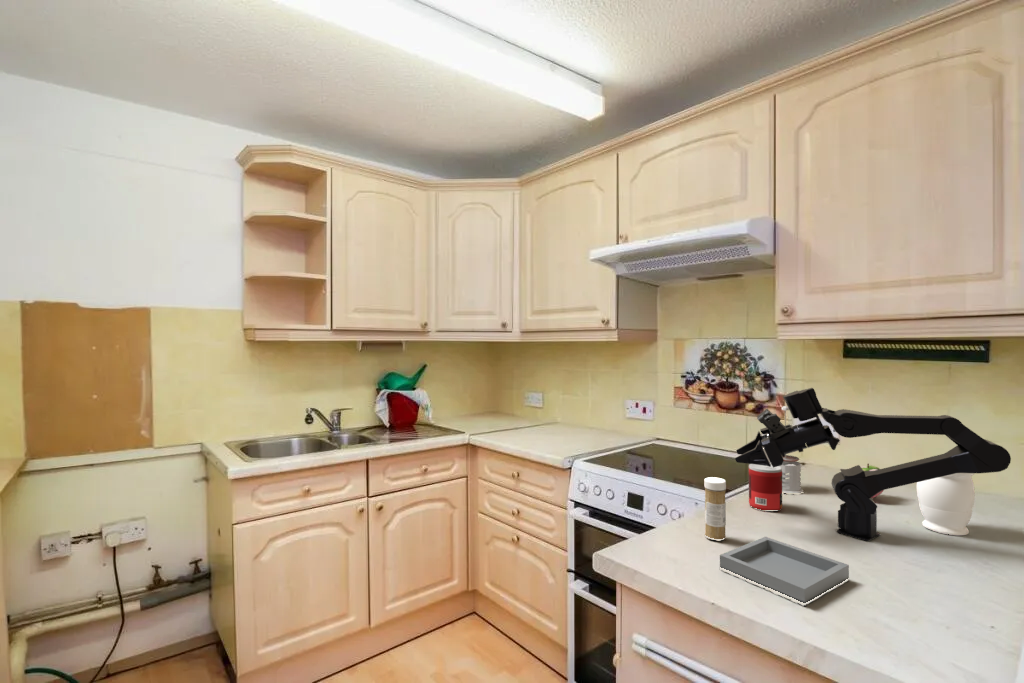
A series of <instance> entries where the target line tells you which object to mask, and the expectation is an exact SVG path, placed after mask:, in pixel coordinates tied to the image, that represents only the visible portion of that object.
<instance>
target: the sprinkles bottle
mask: <svg viewBox="0 0 1024 683" xmlns="http://www.w3.org/2000/svg"><path fill="white" fill-rule="evenodd" d="M703 481H704V490H705V491H704V492H705V494H704V498H705V499H704V508H705V509H704V523H705V524H704V525H705V527H704V528H705V529H704V530H705V532H704V536H705V535H706V536H708V537H710V538H714V539H723V538H725V537H726V538H727V536H726V525H727V524H726V522H727V520H726V514H727V512H726V510H727V508H726V506H727V505H726V504H727V503H726V490H727V481H726V479H724V478H720V477H715V476H714V477H713V476H710V477H706V478H704V480H703Z"/></svg>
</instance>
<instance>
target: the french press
mask: <svg viewBox="0 0 1024 683" xmlns="http://www.w3.org/2000/svg"><path fill="white" fill-rule="evenodd" d="M781 410H782V411H784V426H786V425H787V424H786V423H787V420H786V418H787V415H786V414H787V411H790V410H789V408H788V406H787V405H783V406H782V407H781ZM783 459H784V461H783V463H782V465H781V466H779V467H781V468H782V492H784V493H801V492H803V491H804V490H803V488H802V486H801V485H802V483H801V482H802V479H801V471H802V468H801V467H802V466H801V465H802V464H801V463H800V462H798V461H799V460H800V458H799V457H798V456H794V455H789V454H785V457H783Z"/></svg>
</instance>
